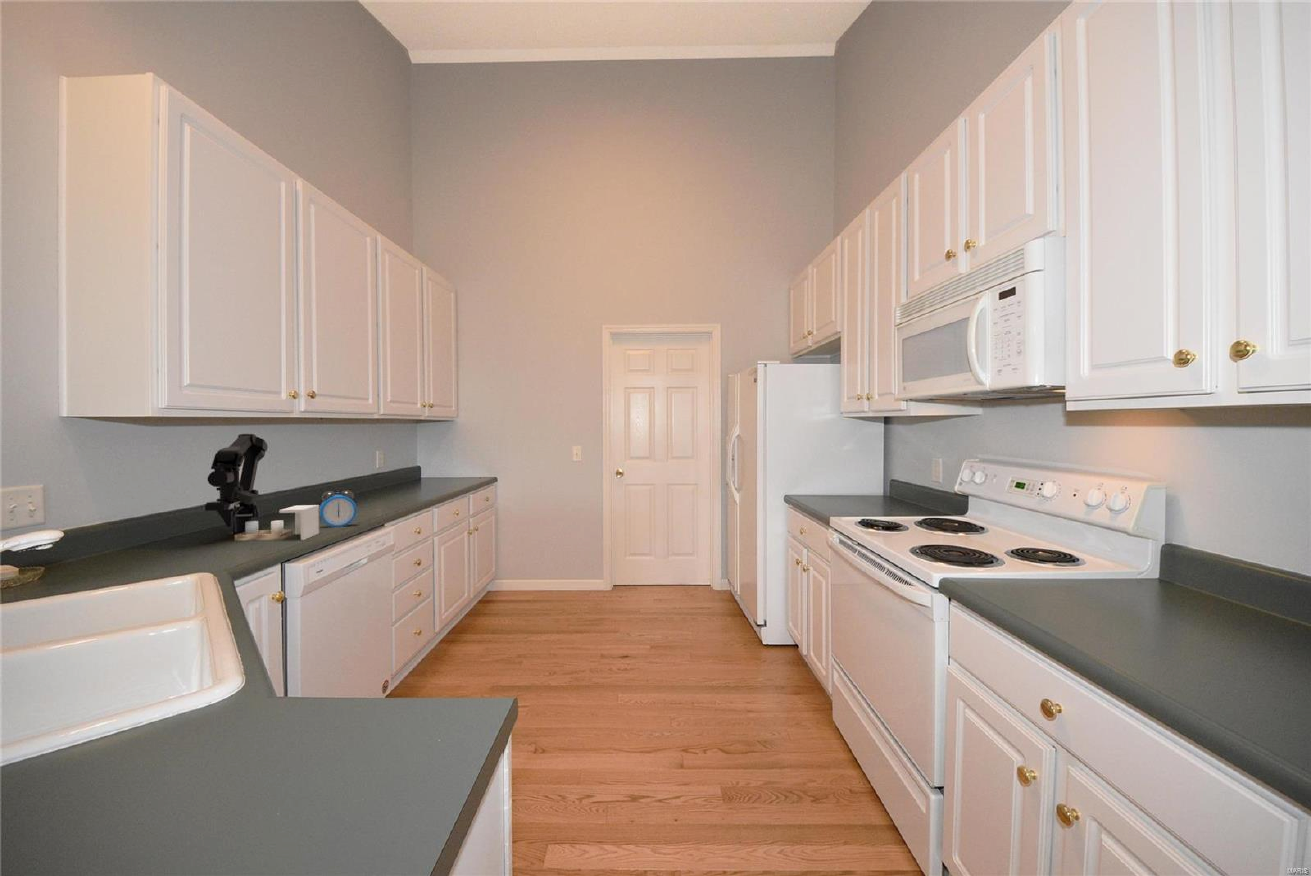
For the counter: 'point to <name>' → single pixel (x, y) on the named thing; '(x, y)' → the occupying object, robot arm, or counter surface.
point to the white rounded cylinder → (277, 527)
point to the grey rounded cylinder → (251, 527)
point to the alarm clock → (337, 509)
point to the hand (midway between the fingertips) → (229, 526)
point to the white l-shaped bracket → (305, 519)
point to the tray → (263, 535)
